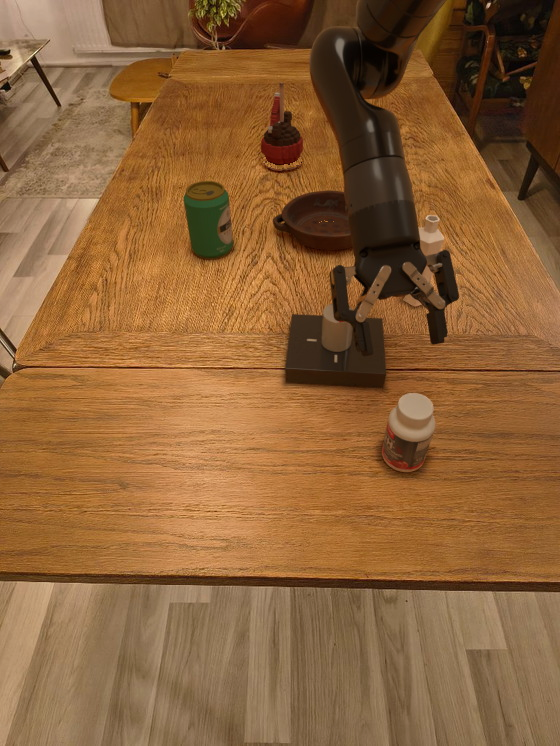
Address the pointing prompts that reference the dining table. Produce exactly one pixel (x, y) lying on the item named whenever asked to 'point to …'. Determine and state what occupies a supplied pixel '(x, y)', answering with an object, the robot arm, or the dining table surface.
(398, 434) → the pill bottle
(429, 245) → the perfume bottle
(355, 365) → the black dial box
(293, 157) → the cake
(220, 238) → the beverage can
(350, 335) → the stove knob
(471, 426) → the dining table surface
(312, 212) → the dish
